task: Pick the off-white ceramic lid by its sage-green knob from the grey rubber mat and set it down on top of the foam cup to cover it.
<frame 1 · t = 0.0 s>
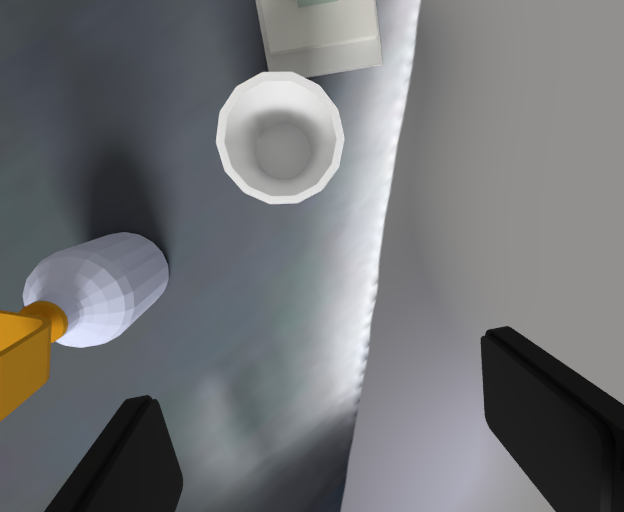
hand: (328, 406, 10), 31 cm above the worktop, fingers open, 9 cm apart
foam cup: (283, 152, 38), on the worktop
soap bottle: (131, 269, 40), on the worktop
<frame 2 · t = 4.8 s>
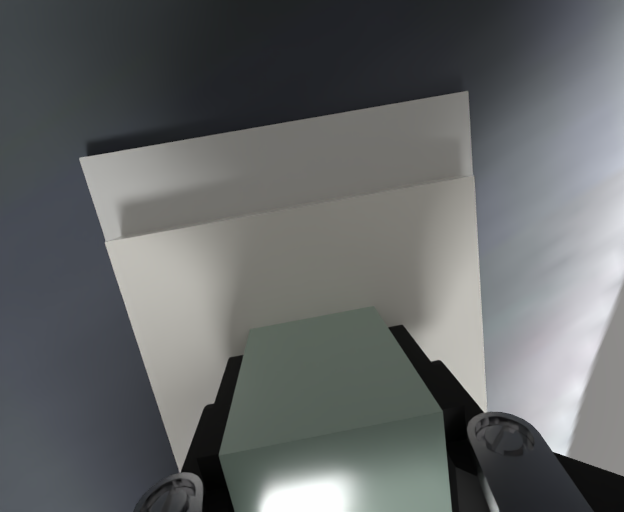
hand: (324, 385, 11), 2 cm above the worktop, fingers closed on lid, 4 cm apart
mat: (318, 351, 13), on the worktop
lid: (329, 413, 9), on the mat, touching gripper
when the fingers open (15 cm above the worktop, at t = 10.6 s): lid stays where it is, resting on foam cup.
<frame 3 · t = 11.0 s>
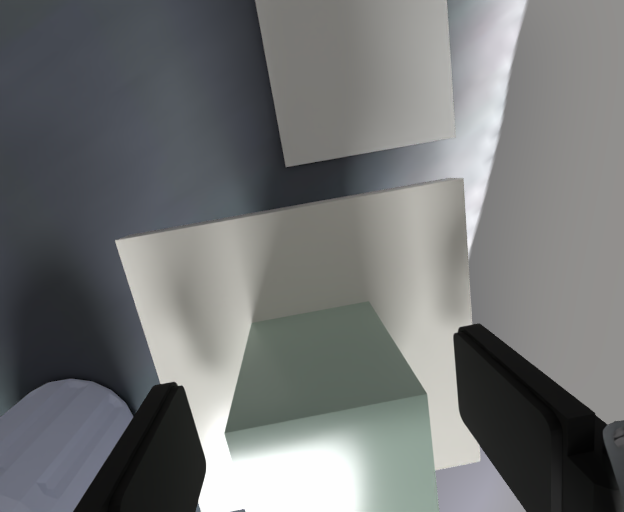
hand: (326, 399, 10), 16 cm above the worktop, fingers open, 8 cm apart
mat: (354, 25, 22), on the worktop
lid: (326, 401, 10), point 16 cm above the worktop, touching foam cup
soap bottle: (81, 424, 28), on the worktop
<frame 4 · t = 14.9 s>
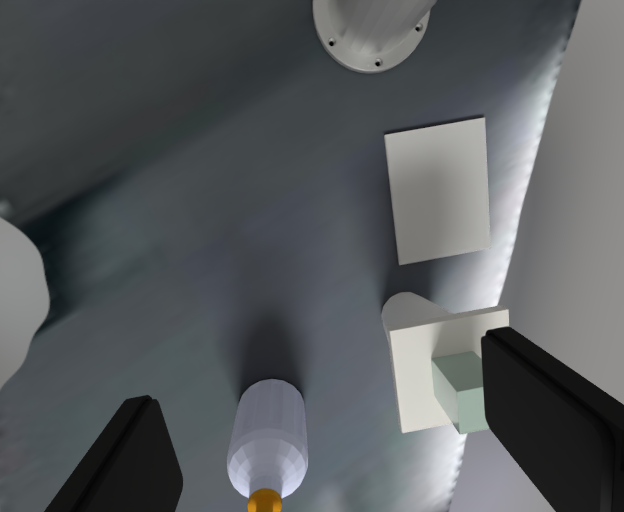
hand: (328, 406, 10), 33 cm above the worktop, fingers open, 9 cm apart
mat: (439, 194, 42), on the worktop
lid: (463, 386, 30), point 16 cm above the worktop, touching foam cup
foam cup: (403, 313, 46), on the worktop, touching lid
soap bottle: (271, 405, 48), on the worktop
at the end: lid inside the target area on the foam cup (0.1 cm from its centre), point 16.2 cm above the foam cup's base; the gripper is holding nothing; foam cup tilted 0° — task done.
